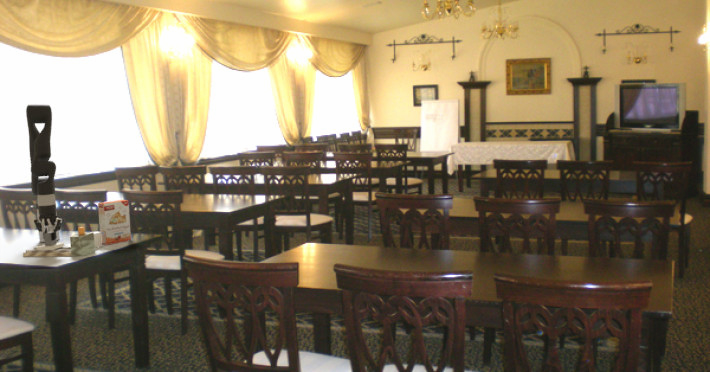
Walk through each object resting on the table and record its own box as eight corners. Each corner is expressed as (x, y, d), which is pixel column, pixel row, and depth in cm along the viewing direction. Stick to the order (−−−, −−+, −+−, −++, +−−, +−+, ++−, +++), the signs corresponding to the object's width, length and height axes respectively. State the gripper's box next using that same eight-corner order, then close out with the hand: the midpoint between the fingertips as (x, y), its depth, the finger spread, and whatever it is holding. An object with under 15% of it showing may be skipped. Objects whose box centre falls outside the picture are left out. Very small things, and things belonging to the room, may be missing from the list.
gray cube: (37, 250, 298) (35, 234, 297) (48, 246, 307) (47, 230, 306) (53, 250, 297) (51, 234, 297) (64, 245, 306) (62, 230, 305)
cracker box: (107, 245, 319) (103, 203, 316) (100, 244, 322) (97, 202, 320) (131, 240, 330) (128, 199, 327) (125, 239, 333) (122, 199, 331)
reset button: (81, 237, 301) (80, 227, 301) (86, 237, 301) (85, 227, 301) (77, 238, 299) (76, 228, 298) (83, 238, 298) (82, 228, 298)
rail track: (23, 256, 299) (21, 237, 298) (36, 251, 309) (34, 233, 308) (83, 255, 295) (82, 236, 294) (95, 251, 305) (93, 232, 304)
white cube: (97, 244, 322) (96, 230, 321) (105, 245, 317) (104, 231, 317) (84, 247, 316) (83, 233, 316) (92, 248, 312) (90, 234, 311)
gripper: (65, 202, 303) (68, 238, 305) (37, 202, 304) (41, 238, 306) (56, 204, 295) (59, 241, 297) (27, 205, 297) (31, 242, 299)
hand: (50, 240), depth 302 cm, fingers closed on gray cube, 3 cm apart
